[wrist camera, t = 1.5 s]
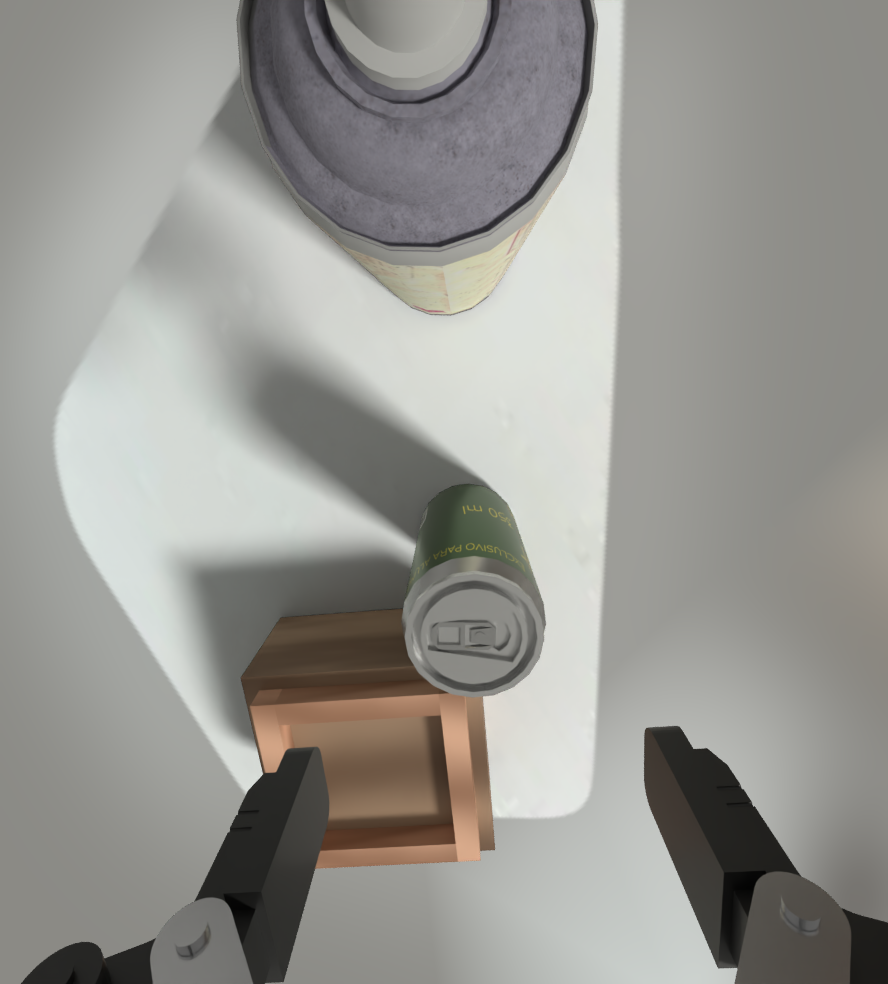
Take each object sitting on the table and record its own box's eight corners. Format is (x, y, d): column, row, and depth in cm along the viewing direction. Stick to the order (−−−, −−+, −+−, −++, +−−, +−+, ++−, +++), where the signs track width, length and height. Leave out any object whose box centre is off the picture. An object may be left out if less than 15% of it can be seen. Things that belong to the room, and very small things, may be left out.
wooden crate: (280, 617, 31) (230, 693, 24) (474, 603, 31) (479, 676, 24) (312, 775, 35) (276, 881, 28) (488, 764, 34) (496, 871, 27)
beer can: (421, 567, 30) (399, 701, 19) (420, 480, 29) (396, 566, 17) (512, 568, 30) (546, 704, 19) (515, 480, 29) (555, 568, 17)
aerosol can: (385, 154, 25) (121, -567, 5) (524, 181, 25) (760, -418, 5) (365, 302, 26) (116, 171, 7) (495, 327, 27) (595, 264, 7)
